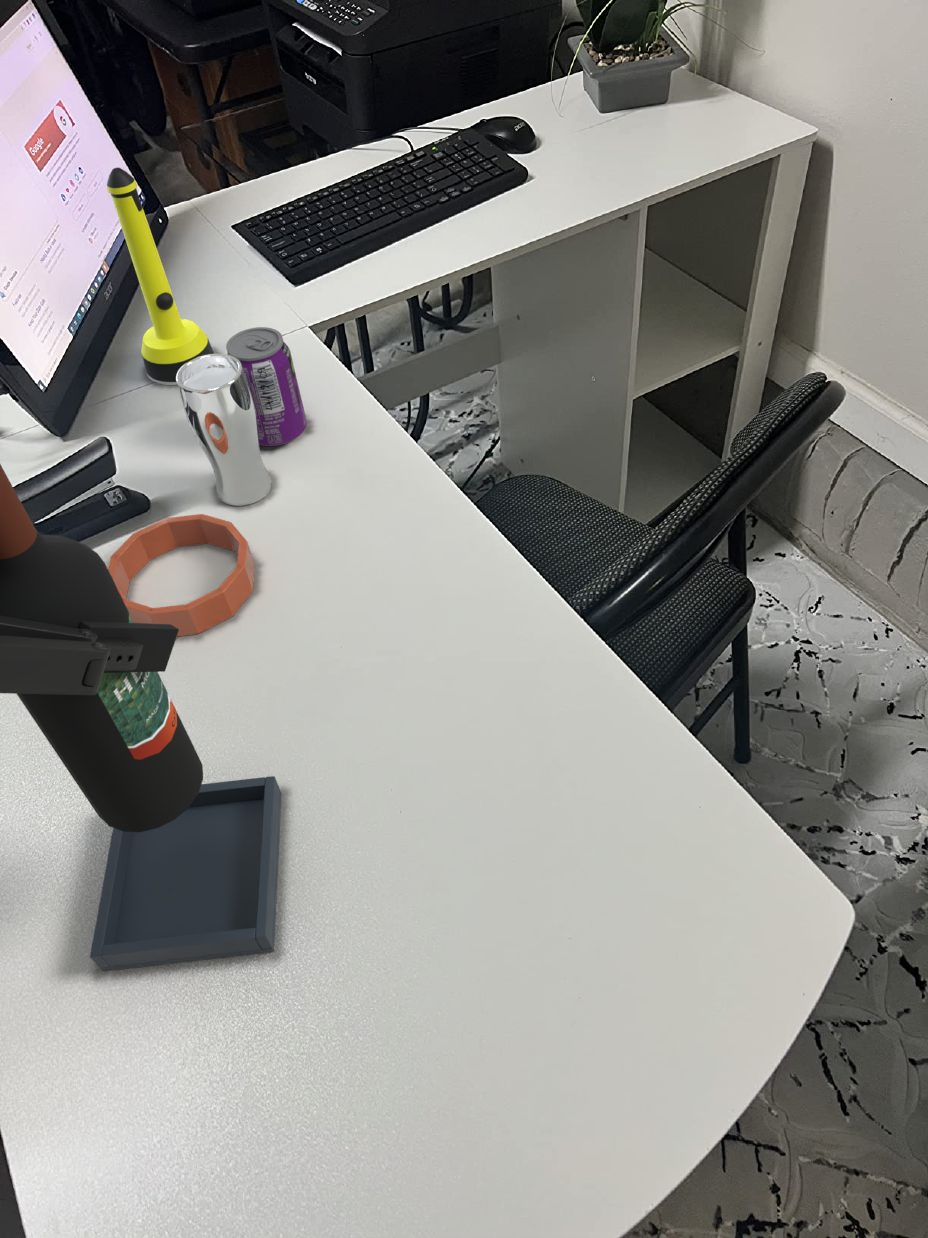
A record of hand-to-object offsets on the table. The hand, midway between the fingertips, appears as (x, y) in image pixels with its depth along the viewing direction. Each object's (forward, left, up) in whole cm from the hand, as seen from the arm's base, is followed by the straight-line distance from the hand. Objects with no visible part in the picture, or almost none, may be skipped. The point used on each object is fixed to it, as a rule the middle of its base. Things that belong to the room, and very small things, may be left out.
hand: (120, 620), depth 58 cm
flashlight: (-45, +55, -26) cm, 76 cm away
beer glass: (-23, +37, -26) cm, 51 cm away
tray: (0, -4, -26) cm, 26 cm away
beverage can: (-25, +47, -26) cm, 59 cm away
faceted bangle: (-20, +22, -26) cm, 39 cm away
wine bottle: (-1, -3, -14) cm, 14 cm away
